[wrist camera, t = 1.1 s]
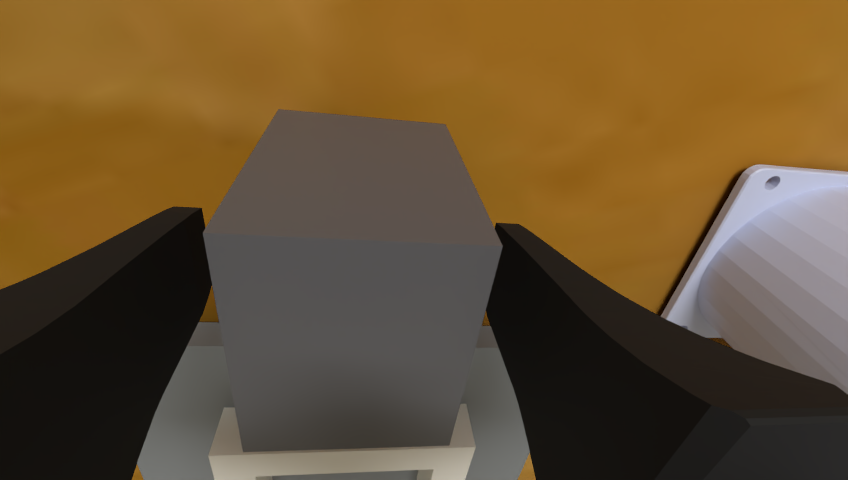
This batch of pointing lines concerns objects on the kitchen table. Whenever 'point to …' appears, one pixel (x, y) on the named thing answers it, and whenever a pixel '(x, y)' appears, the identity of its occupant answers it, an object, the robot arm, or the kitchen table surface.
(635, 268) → the kitchen table surface
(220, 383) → the socket
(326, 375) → the plug
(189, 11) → the kitchen table surface
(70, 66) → the kitchen table surface
